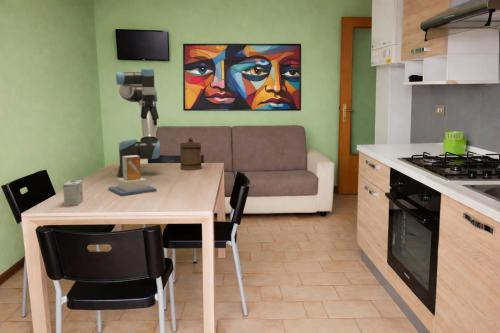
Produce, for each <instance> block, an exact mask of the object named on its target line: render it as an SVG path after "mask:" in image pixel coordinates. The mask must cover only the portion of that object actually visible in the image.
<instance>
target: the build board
mask: <svg viewBox="0 0 500 333" xmlns="http://www.w3.org/2000/svg"><path fill="white" fill-rule="evenodd" d="M116 182H117V186H108V189H107V190H108V191H110V192H112V193H114V194H116V195H119V196H121V197H126V196H132V195H133V196H134V195H140V194H146V193H152V192H157V187H154V186H150V185H148V184H147V183H148V182H147V178H143V177H141V179H137V180H128V181H127V180H124V179H123V177H120V178H117V181H116Z"/></svg>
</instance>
